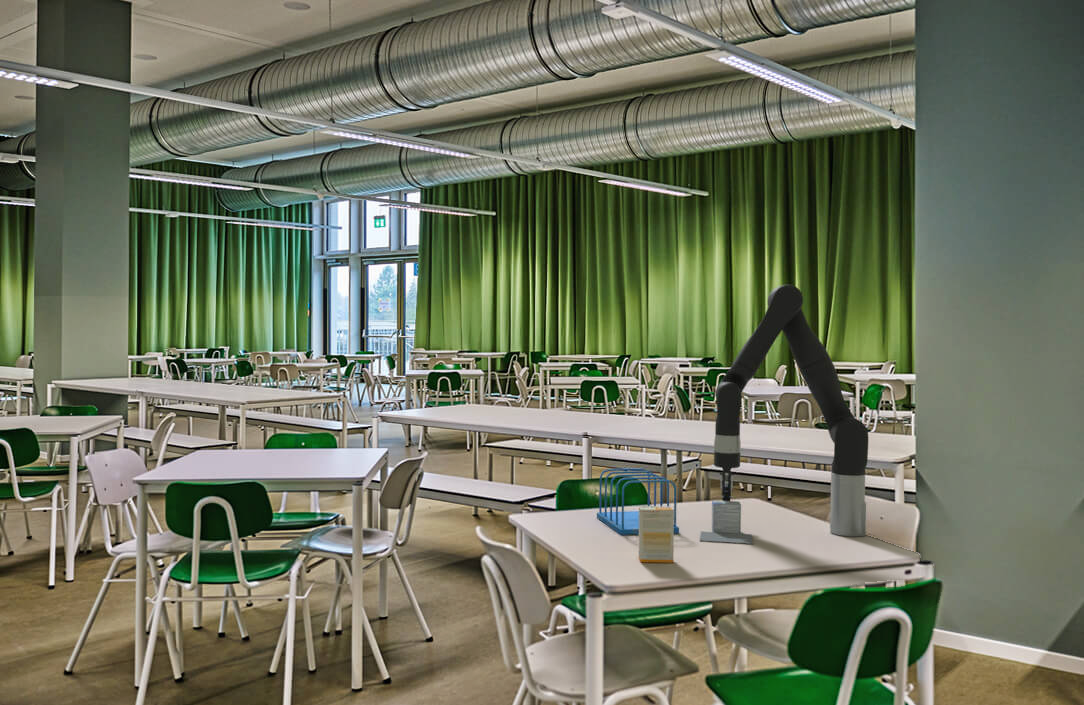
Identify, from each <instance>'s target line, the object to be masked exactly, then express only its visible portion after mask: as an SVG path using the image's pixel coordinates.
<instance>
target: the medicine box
mask: <svg viewBox="0 0 1084 705" xmlns="http://www.w3.org/2000/svg"><path fill="white" fill-rule="evenodd" d="M741 521H742V504H741V502H740V501H739V500H738V501H735V500H730V501H722V500H712V501H711V532H720V533H737V534H742V531H741V530H742V529H741V528H742V527H741V526H742V522H741Z"/></svg>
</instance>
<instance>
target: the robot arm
mask: <svg viewBox="0 0 1084 705" xmlns="http://www.w3.org/2000/svg"><path fill="white" fill-rule="evenodd" d="M803 304H804V296H803V293H802V291H801V290H800V288H798V287H797V286H795V285H793V284H783V285H779V286H777V287H775V288H773V289H772V290H771V292H770V293H769V295H768V297H767V310H766V311H765V314H764V316H763V317H762V319H761V321H760V323H759V324H758V326H757V327H756V329H755V330H754V332H753V333H752V334H751V335H750V336H749V338H748V339H747V341H746V342H745V343H744V345H743V346H742V348H741V350H740V351H739V353H738V354H737V356H736V358H735V359H734V360H733V362H732V365H731V366H730V369H729V370H728V371H727V372H726V374H725V375H724V376H723V378H722V379H721V380H720V382H719V383H718V385H717V387H716V389H715V393H714V394H715V399H716V403H717V404H716V407H717V408H716V411H717V412H716V417H715V426H714V427H715V430H714V431H715V435H714V441H713V466H714V467H715V468H721V469H722V472H719V480H720V487H719V488H720V490H721V498H722V500H721V501H731V497H732V490H733V488H734V487H733V486H734V484H733V482H734V479H735V478H734V477H735V474H734V472H732V471H731V470H732V469H738V468H741V435H740V434H741V433H740V432H741V418H740V416H741V409H742V397H743V396H742V392H743V391H744V390H745V388H746V386H747V384H748V383H749V381H750V380H752V379H753V377H755V374H756V373H757V372H758V370H759V369H760V367H761V365H762V363H763V362H764V361H765V359H766V357H767V355H768V353H769V352H770V349H771V348H772V346H773V344H774V343H775V341H776V340H777V338H778V337H779V335H780V334H781V332H783V334H784V336H785V338H786V341H787V344H788V347H789V348H790V351H791V354H792V357H793V358H794V361H795V363H796V366H797V368H798V370H799V372H800V375H801V376H802V378H803V380H804V383H805V384H806V386H807V388H808V390H809V392H810V393H811V395H812V397H813V399H814V400H815V401H816V403H817V405H818V407H819V409H820V412H821V414H822V416H823V420H824V422H825V424H826V427H827V430H828V433H829V438H830V439H831V441H832V442H833V443H834V444H833V445H834V446H833V448H834V449H833V452H834V454H833V460H832V462H831V464H830V465H831V466H830V467H831V468H830V469H831V470H830V512H829V513H830V519H829V520H830V522H829V523H830V524H829V530H830V533H831V534H833V535H837V536H844V537H866V535H867V534H866V533H867V531H866V527H867V524H866V523H867V521H866V520H867V502H866V499H865V498H866V468H867V465H868V461H869V459H868V458H869V457H868V456H869V431H868V427H867V426H866V425H865V423H863V421H861V420H859V419H857V418H856V417H855V416H854V414H853V413H852V412H851V410H850V408H849V405H847V402H846V401H845V398H844V395H843V393H842V388H841V383H840V379H839V376H838V373H837V370H836V367H835V365H834V362H833V361H832V359H831V357H830V355H829V353H828V351H827V350H826V347H825V346H824V344H823V343H822V342H821V340H820V339H819V338H818V336H817V335H816V334H815V332H814V331H813V329H812V328H811V327H810V325H809V323H808V321H807V319H806V316H805V313H804V311H803V309H802V307H803Z"/></svg>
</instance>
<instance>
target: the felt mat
mask: <svg viewBox="0 0 1084 705" xmlns="http://www.w3.org/2000/svg"><path fill="white" fill-rule="evenodd" d="M699 534H700V536H699V542H703V541H711V542H710V543H720V542H729V543H728V544H736V543H746V544H745V545H752V544H754V543H753V537H752V533H741V534H737V533H720V532H712V531H703V530H702V531H700V533H699Z"/></svg>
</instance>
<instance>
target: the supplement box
mask: <svg viewBox="0 0 1084 705" xmlns="http://www.w3.org/2000/svg"><path fill="white" fill-rule="evenodd" d="M638 511H639V534H638V559H639V562H640V563H664V564H665V563H668V564H669V563H670V564H673V563H674V545H675V544H674V541H675V540H674V538H675V535H674V534H675V533H674V508H673V506H669V507H668V506H667V505H666V506H664V505H662V506H660V505H658V506H657V505H656V506H654V505H651V506H648V505H644V506H643V505H640V506H638Z"/></svg>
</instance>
